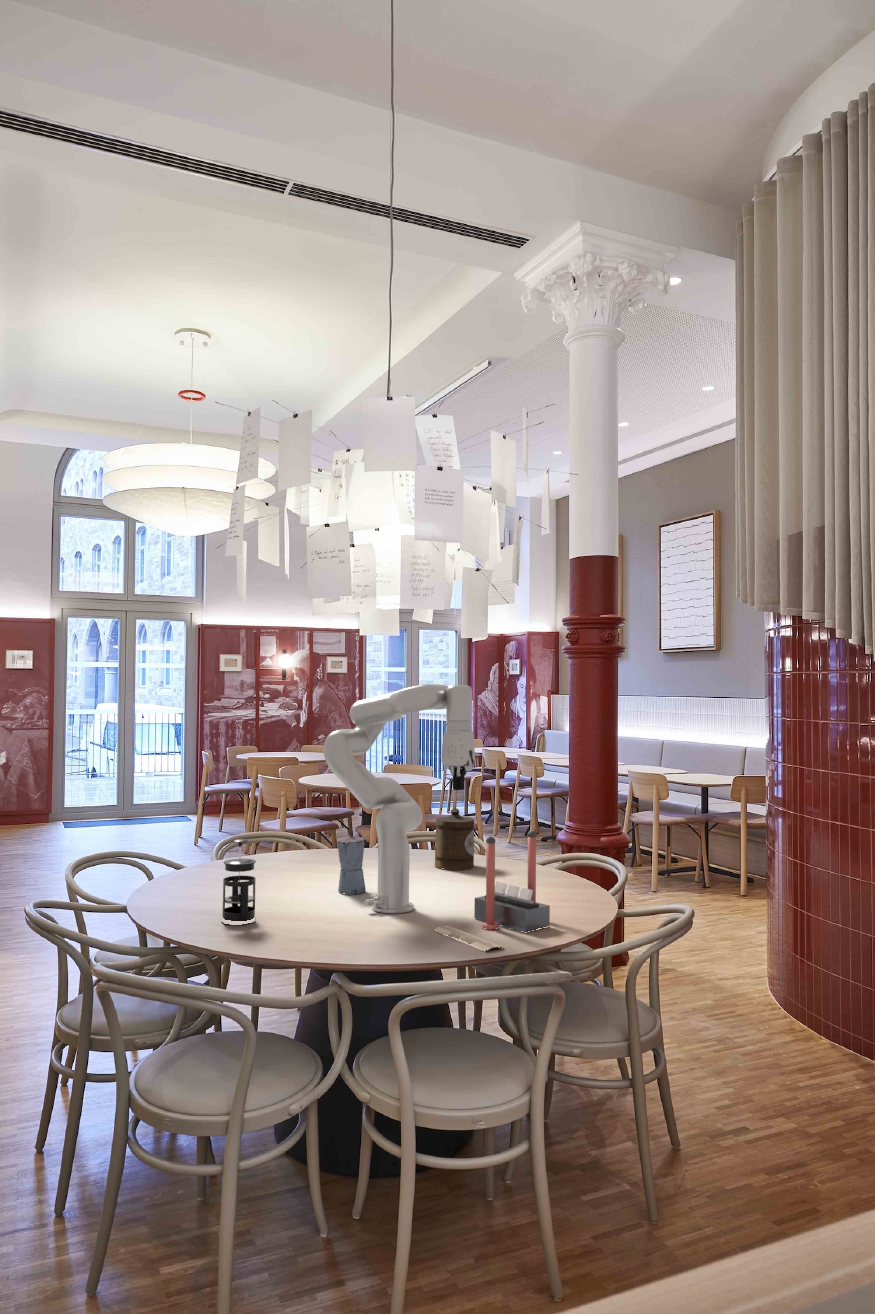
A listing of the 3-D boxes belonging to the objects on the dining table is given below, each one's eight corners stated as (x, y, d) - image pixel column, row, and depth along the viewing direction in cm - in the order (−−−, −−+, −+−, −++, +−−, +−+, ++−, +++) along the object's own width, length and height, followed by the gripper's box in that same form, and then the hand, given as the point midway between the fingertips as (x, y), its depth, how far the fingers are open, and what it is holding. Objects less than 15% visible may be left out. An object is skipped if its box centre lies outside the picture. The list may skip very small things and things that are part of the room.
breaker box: (525, 933, 233) (525, 908, 233) (474, 918, 248) (474, 895, 248) (549, 927, 240) (549, 903, 240) (498, 913, 255) (498, 890, 255)
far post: (532, 920, 246) (532, 832, 247) (520, 917, 250) (521, 830, 251) (542, 918, 249) (542, 830, 250) (531, 915, 252) (531, 829, 254)
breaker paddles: (530, 903, 238) (533, 890, 239) (489, 893, 250) (492, 880, 251) (533, 904, 238) (536, 891, 239) (492, 894, 250) (496, 881, 251)
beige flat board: (504, 952, 218) (504, 945, 218) (482, 956, 214) (482, 949, 214) (451, 930, 238) (451, 924, 238) (430, 934, 234) (430, 927, 234)
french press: (217, 918, 245) (219, 837, 246) (249, 915, 250) (251, 835, 251) (227, 928, 235) (229, 844, 236) (261, 924, 239) (262, 841, 240)
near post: (490, 931, 235) (490, 838, 236) (479, 927, 238) (479, 836, 240) (501, 928, 238) (501, 836, 239) (490, 925, 241) (490, 834, 242)
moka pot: (329, 895, 275) (330, 833, 276) (346, 885, 290) (346, 826, 291) (357, 897, 273) (358, 834, 274) (372, 887, 288) (373, 827, 289)
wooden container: (477, 870, 319) (477, 810, 320) (437, 870, 317) (438, 811, 318) (470, 862, 334) (470, 805, 335) (432, 863, 332) (433, 806, 333)
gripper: (432, 726, 255) (432, 788, 254) (467, 728, 244) (466, 792, 243) (451, 726, 260) (450, 786, 259) (485, 727, 249) (485, 791, 248)
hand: (458, 789), depth 251 cm, fingers closed
